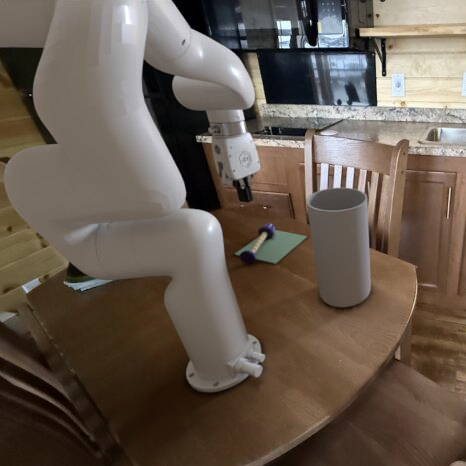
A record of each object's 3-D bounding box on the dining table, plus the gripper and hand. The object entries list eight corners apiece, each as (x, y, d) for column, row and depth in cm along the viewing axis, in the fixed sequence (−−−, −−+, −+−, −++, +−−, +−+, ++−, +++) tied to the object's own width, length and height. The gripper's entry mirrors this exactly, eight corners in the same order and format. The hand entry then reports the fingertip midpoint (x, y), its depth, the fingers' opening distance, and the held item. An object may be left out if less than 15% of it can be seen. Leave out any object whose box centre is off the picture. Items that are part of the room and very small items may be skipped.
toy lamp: (235, 251, 85) (261, 220, 99) (240, 265, 88) (265, 232, 102) (252, 252, 85) (276, 220, 99) (257, 265, 88) (280, 232, 102)
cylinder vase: (309, 299, 75) (293, 203, 63) (339, 271, 85) (330, 184, 73) (353, 315, 71) (345, 216, 58) (379, 284, 81) (377, 193, 68)
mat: (306, 237, 101) (306, 236, 101) (274, 264, 88) (274, 263, 87) (270, 230, 105) (270, 229, 104) (234, 255, 91) (234, 253, 91)
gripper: (216, 135, 67) (236, 214, 75) (263, 124, 79) (276, 193, 88) (189, 133, 69) (212, 209, 78) (239, 123, 81) (254, 189, 90)
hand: (246, 200), depth 83 cm, fingers closed
